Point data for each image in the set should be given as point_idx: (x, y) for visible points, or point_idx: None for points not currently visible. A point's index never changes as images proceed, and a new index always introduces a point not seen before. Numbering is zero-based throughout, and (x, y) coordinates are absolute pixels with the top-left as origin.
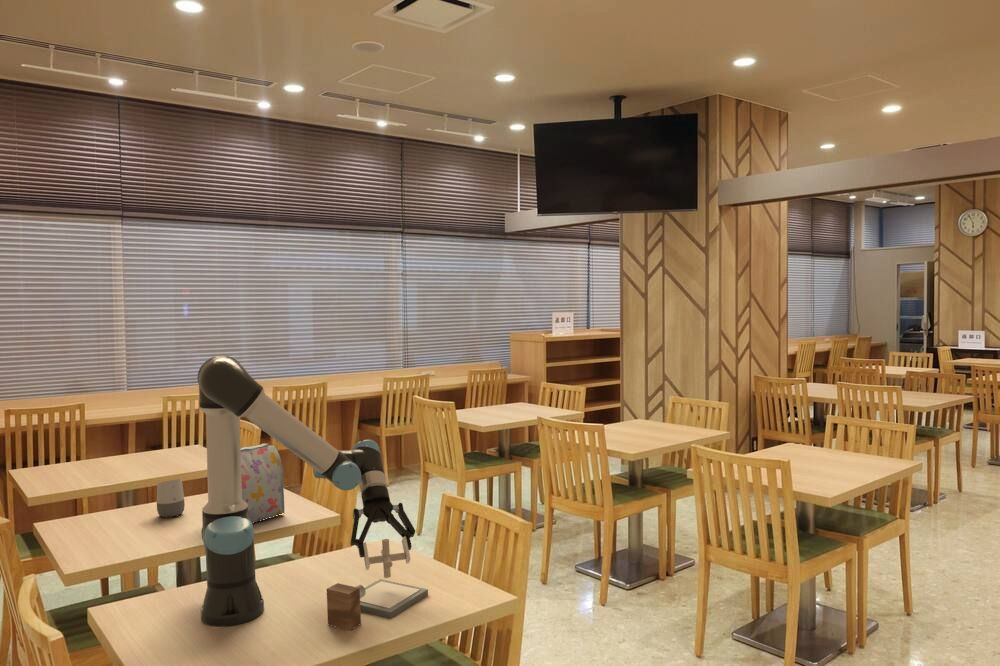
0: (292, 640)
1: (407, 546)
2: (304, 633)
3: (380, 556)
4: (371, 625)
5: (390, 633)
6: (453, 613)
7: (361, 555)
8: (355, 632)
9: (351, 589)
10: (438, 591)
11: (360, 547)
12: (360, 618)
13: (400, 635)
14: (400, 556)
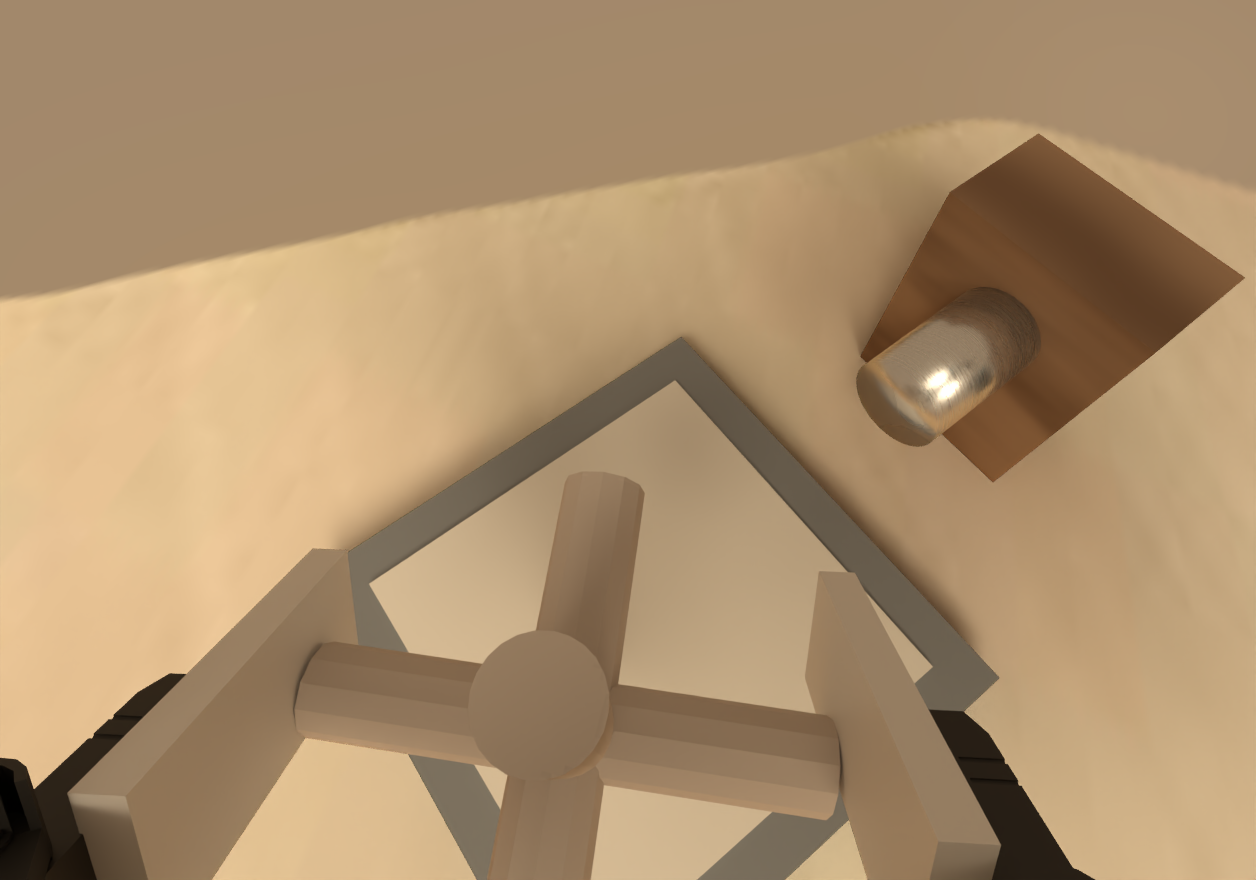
0: (1249, 328)
1: (219, 651)
2: (1194, 379)
3: (651, 719)
4: (802, 320)
5: (723, 209)
6: (341, 275)
7: (953, 721)
8: (898, 282)
9: (1017, 192)
10: (232, 614)
11: (1017, 821)
12: (872, 334)
13: (682, 176)
14: (392, 652)
